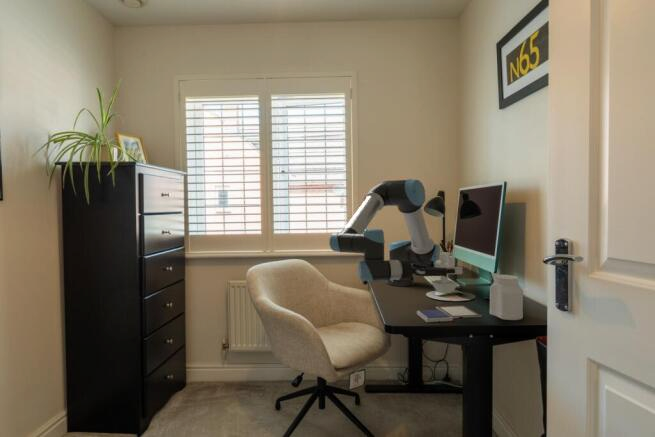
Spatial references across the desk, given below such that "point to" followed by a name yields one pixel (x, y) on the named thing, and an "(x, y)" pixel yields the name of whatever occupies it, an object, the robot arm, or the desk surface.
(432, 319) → the ink pad
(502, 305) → the jar
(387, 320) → the desk surface
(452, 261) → the figurine
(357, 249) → the robot arm
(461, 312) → the card sheet
